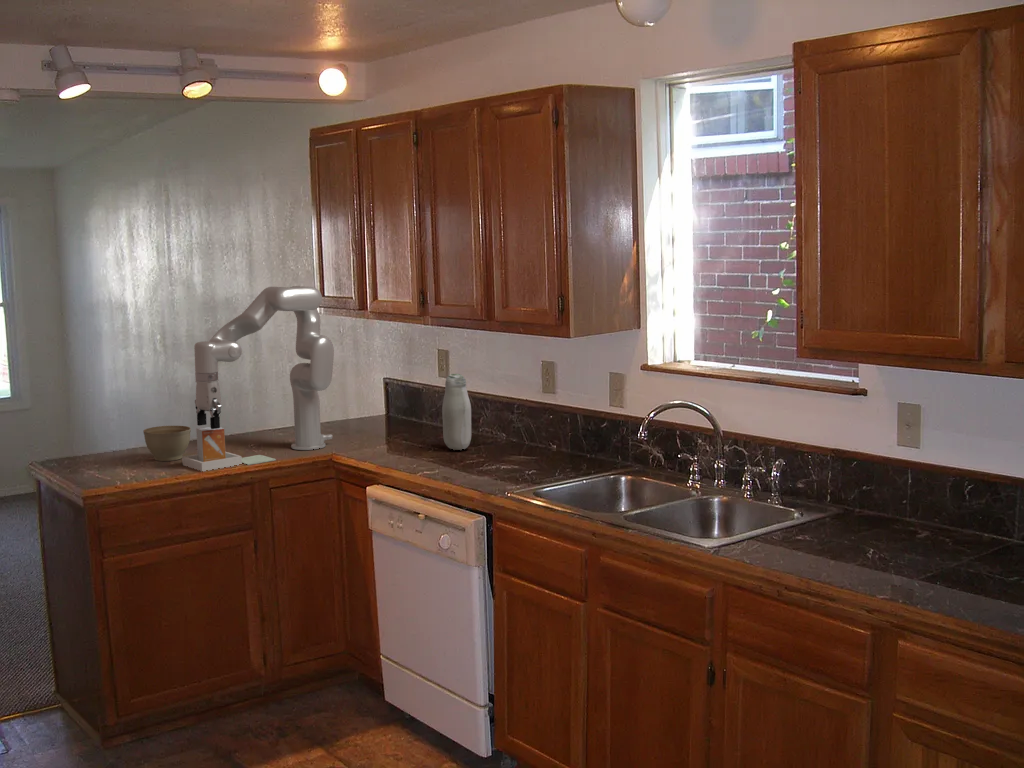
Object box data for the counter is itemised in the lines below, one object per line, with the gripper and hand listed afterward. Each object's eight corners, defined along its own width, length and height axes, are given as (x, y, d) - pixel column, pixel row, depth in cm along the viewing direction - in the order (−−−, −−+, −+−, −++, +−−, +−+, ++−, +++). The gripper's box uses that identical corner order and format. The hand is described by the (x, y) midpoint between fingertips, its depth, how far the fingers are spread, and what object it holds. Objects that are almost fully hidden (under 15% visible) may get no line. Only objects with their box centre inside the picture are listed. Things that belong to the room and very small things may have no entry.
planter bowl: (177, 464, 376) (175, 433, 375) (136, 462, 380) (134, 432, 379) (201, 455, 392) (199, 425, 390) (161, 453, 396) (159, 424, 394)
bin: (221, 458, 385) (221, 450, 384) (241, 464, 374) (241, 456, 374) (182, 465, 375) (182, 456, 375) (202, 471, 364) (201, 462, 364)
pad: (260, 455, 389) (260, 454, 389) (275, 460, 381) (275, 459, 381) (232, 460, 381) (232, 459, 381) (247, 465, 373) (247, 464, 373)
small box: (203, 468, 370) (201, 430, 368) (197, 465, 375) (195, 428, 373) (226, 465, 374) (224, 428, 372) (220, 461, 380) (218, 425, 378)
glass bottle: (477, 449, 393) (475, 373, 389) (456, 454, 386) (454, 376, 382) (459, 446, 400) (457, 371, 396) (438, 450, 393) (436, 374, 389)
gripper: (229, 378, 366) (230, 428, 369) (205, 374, 379) (206, 422, 381) (208, 380, 361) (210, 431, 363) (185, 376, 374) (186, 424, 376)
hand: (208, 426), depth 372 cm, fingers open, 9 cm apart
